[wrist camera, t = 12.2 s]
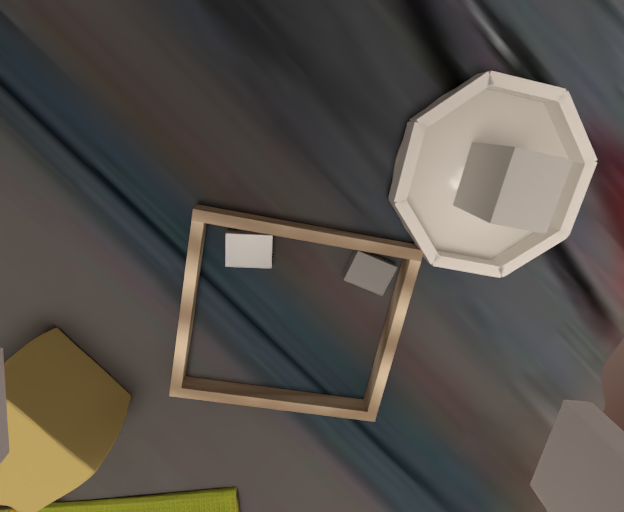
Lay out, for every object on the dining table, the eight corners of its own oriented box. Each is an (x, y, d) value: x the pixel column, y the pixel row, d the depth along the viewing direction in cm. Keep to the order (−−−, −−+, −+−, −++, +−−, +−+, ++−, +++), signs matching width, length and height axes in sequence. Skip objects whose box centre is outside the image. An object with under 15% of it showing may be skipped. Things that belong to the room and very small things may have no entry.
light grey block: (227, 228, 38) (225, 233, 37) (272, 230, 39) (272, 235, 37) (227, 261, 39) (225, 266, 38) (271, 262, 40) (271, 268, 38)
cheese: (63, 452, 44) (3, 544, 34) (-24, 380, 41) (-116, 460, 31) (140, 395, 42) (100, 475, 33) (56, 317, 39) (-14, 380, 30)
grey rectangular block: (355, 245, 40) (358, 250, 38) (393, 261, 40) (397, 267, 39) (341, 274, 40) (343, 280, 39) (378, 289, 41) (382, 295, 40)
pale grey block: (472, 141, 37) (515, 146, 30) (520, 152, 37) (573, 159, 30) (452, 205, 38) (489, 223, 31) (499, 214, 39) (546, 234, 32)
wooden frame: (197, 204, 37) (192, 208, 35) (417, 244, 40) (424, 250, 38) (174, 383, 42) (169, 396, 40) (370, 408, 45) (374, 421, 43)
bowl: (420, 61, 35) (431, 56, 32) (595, 103, 37) (620, 102, 34) (372, 247, 40) (379, 256, 37) (532, 275, 42) (549, 286, 39)
